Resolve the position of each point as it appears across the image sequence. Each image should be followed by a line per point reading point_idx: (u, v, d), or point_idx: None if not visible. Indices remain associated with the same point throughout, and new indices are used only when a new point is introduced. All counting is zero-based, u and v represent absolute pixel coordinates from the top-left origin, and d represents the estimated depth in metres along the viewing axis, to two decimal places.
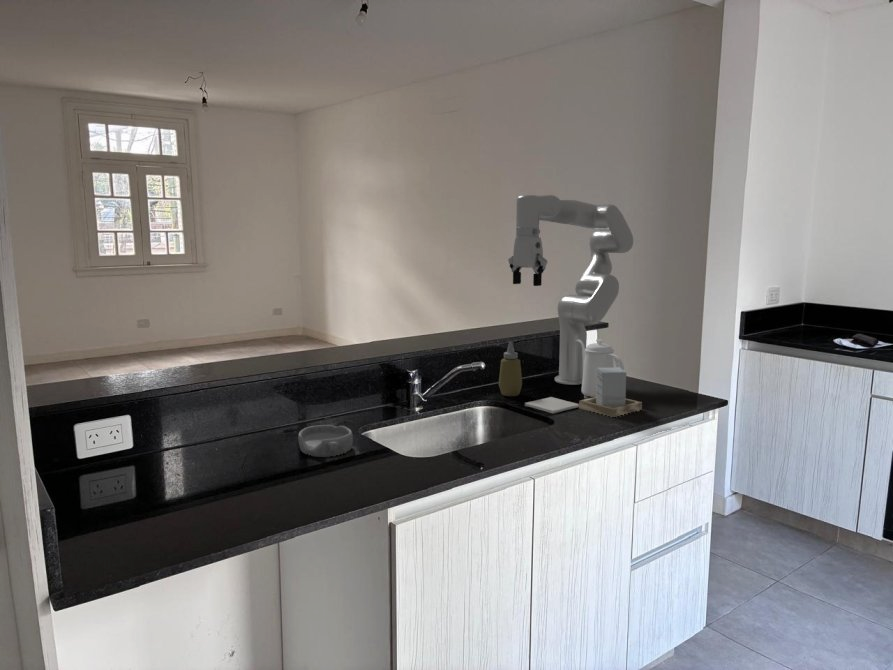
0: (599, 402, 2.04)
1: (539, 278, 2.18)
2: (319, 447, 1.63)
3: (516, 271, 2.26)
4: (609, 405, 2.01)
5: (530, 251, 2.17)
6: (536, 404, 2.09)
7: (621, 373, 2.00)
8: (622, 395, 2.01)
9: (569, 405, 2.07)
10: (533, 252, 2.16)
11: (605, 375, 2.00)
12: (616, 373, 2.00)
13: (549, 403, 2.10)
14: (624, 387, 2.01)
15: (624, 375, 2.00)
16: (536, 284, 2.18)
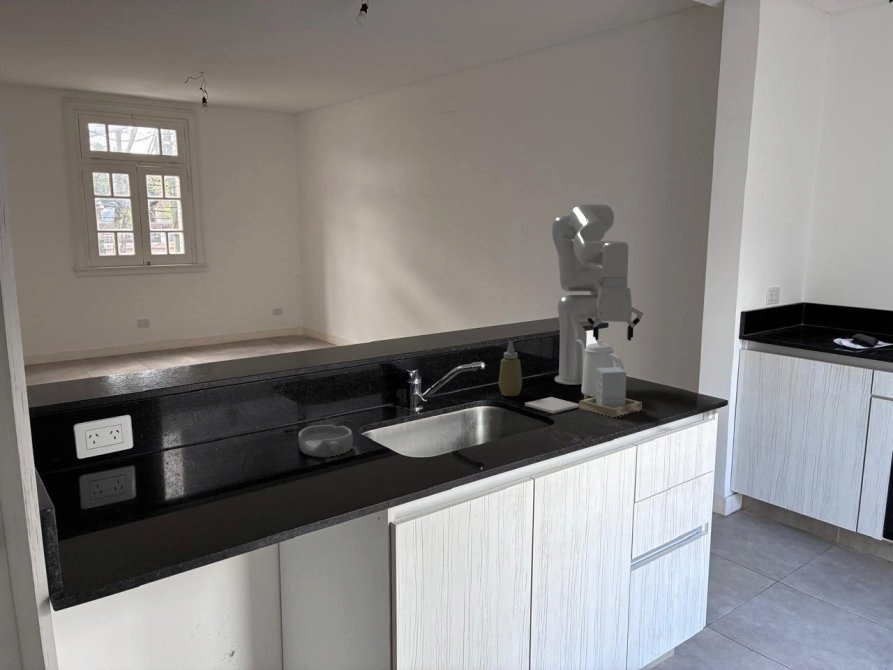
0: (599, 402, 2.04)
1: (593, 331, 2.02)
2: (319, 447, 1.63)
3: None
4: (609, 405, 2.01)
5: None
6: (536, 404, 2.09)
7: (621, 373, 2.00)
8: (622, 395, 2.01)
9: (569, 405, 2.07)
10: None
11: (605, 375, 2.00)
12: (616, 373, 2.00)
13: (549, 403, 2.10)
14: (624, 387, 2.01)
15: (624, 375, 2.00)
16: (595, 337, 2.03)
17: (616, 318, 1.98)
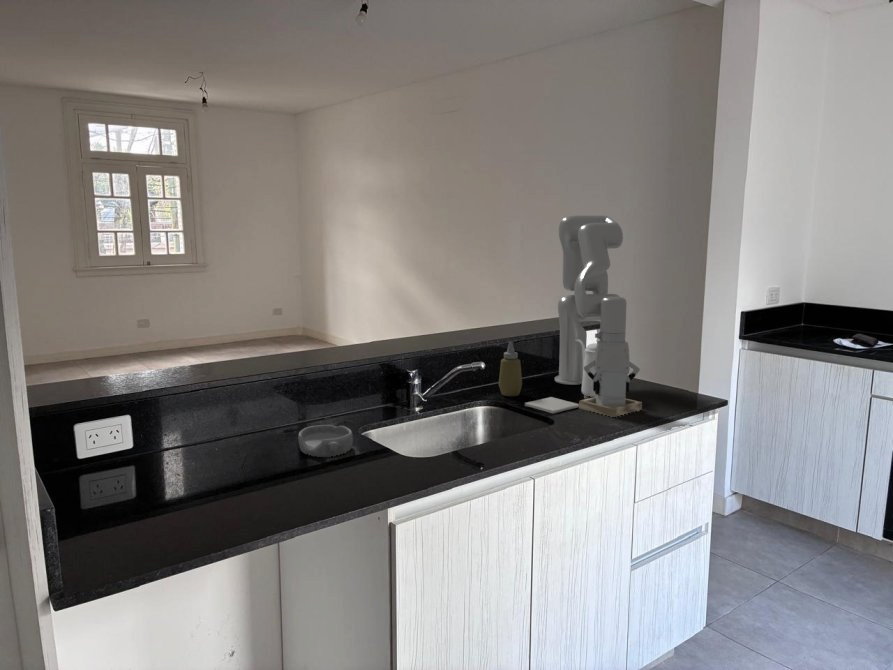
0: (599, 402, 2.04)
1: (593, 385, 2.05)
2: (319, 447, 1.63)
3: None
4: (609, 405, 2.01)
5: None
6: (536, 404, 2.09)
7: (621, 373, 2.00)
8: (622, 395, 2.01)
9: (569, 405, 2.07)
10: None
11: (605, 375, 2.00)
12: (616, 373, 2.00)
13: (549, 403, 2.10)
14: (624, 387, 2.01)
15: (624, 375, 2.00)
16: (595, 391, 2.06)
17: None
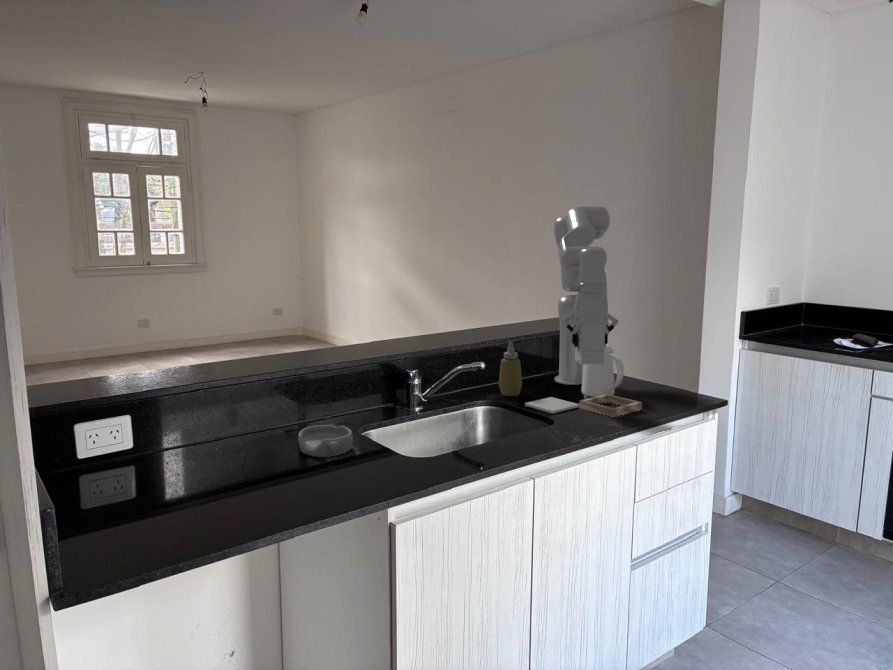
0: (578, 354, 2.04)
1: (572, 338, 2.04)
2: (319, 447, 1.63)
3: None
4: (588, 357, 2.01)
5: None
6: (536, 404, 2.09)
7: (600, 324, 2.00)
8: (601, 346, 2.01)
9: (569, 405, 2.07)
10: None
11: (584, 326, 1.99)
12: (595, 324, 2.00)
13: (549, 403, 2.10)
14: (603, 339, 2.00)
15: (603, 326, 2.00)
16: (574, 344, 2.05)
17: None
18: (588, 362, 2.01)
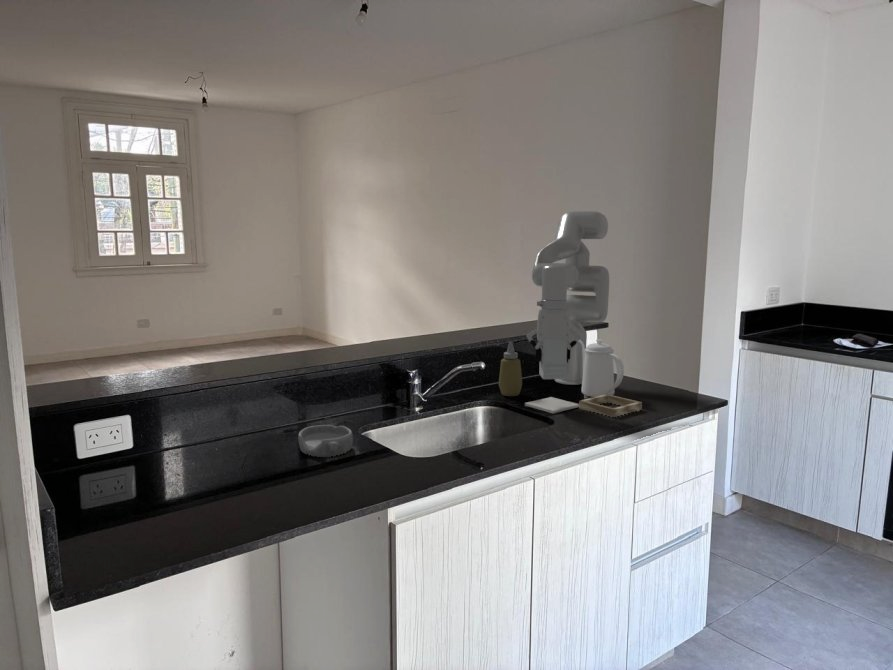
0: (541, 369, 2.07)
1: None
2: (319, 447, 1.63)
3: None
4: (550, 372, 2.04)
5: None
6: (536, 404, 2.09)
7: (562, 340, 2.03)
8: (563, 362, 2.04)
9: (569, 405, 2.07)
10: None
11: (546, 342, 2.03)
12: (557, 340, 2.03)
13: (549, 403, 2.10)
14: (565, 354, 2.03)
15: (565, 342, 2.03)
16: None
17: None
18: (550, 377, 2.04)
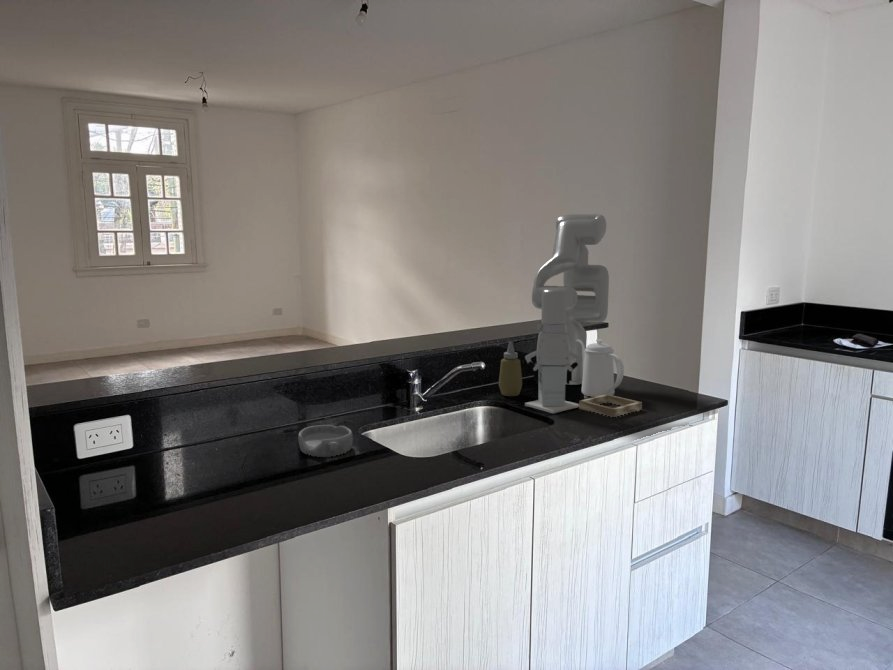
0: (540, 396, 2.09)
1: None
2: (319, 447, 1.63)
3: (567, 369, 2.08)
4: (549, 399, 2.06)
5: None
6: (536, 404, 2.09)
7: (560, 368, 2.04)
8: (562, 389, 2.06)
9: (569, 405, 2.07)
10: None
11: (545, 369, 2.04)
12: (555, 368, 2.04)
13: None
14: (563, 381, 2.05)
15: (563, 370, 2.05)
16: None
17: (555, 362, 2.05)
18: (549, 404, 2.06)
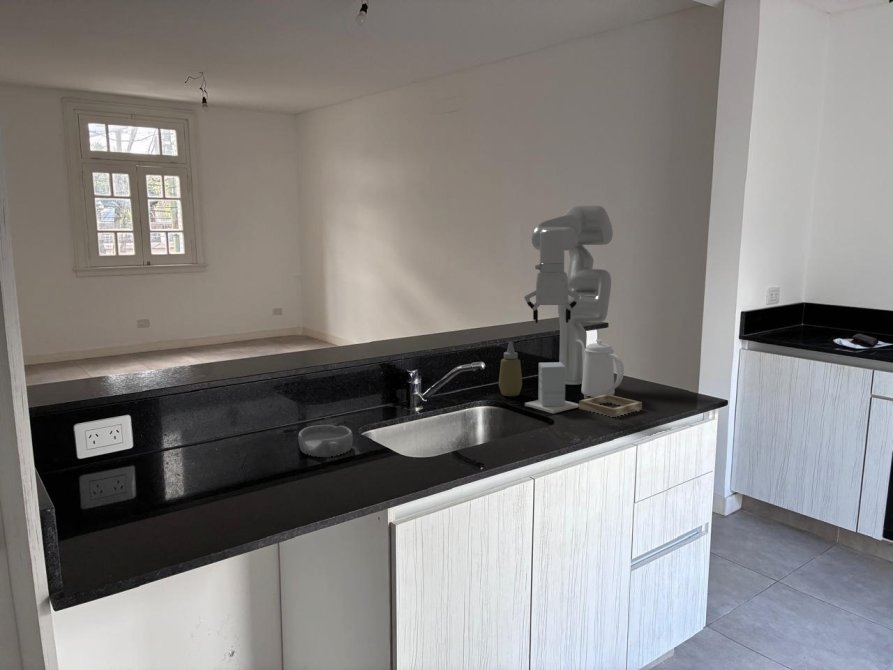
0: (540, 396, 2.09)
1: (533, 314, 2.12)
2: (319, 447, 1.63)
3: (566, 308, 2.11)
4: (549, 399, 2.06)
5: None
6: (536, 404, 2.09)
7: (560, 368, 2.04)
8: (562, 389, 2.06)
9: (569, 405, 2.07)
10: None
11: (545, 369, 2.04)
12: (555, 368, 2.04)
13: None
14: (563, 381, 2.05)
15: (563, 370, 2.05)
16: (535, 320, 2.13)
17: (554, 302, 2.08)
18: (549, 404, 2.06)
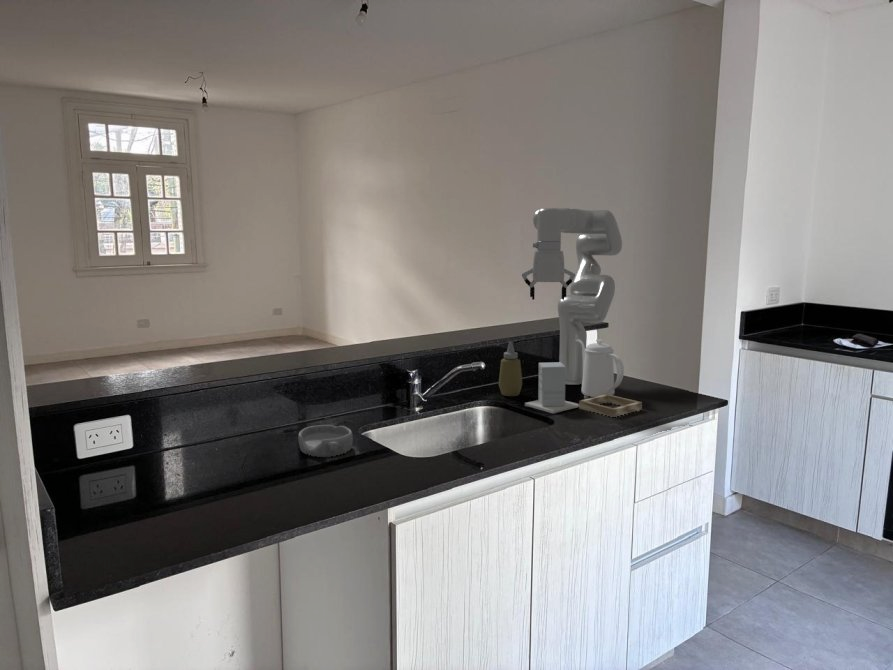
0: (540, 396, 2.09)
1: (530, 291, 2.19)
2: (319, 447, 1.63)
3: (562, 286, 2.18)
4: (549, 399, 2.06)
5: None
6: (536, 404, 2.09)
7: (560, 368, 2.04)
8: (562, 389, 2.06)
9: (569, 405, 2.07)
10: None
11: (545, 369, 2.04)
12: (555, 368, 2.04)
13: None
14: (563, 381, 2.05)
15: (563, 370, 2.05)
16: None
17: (550, 279, 2.15)
18: (549, 404, 2.06)
